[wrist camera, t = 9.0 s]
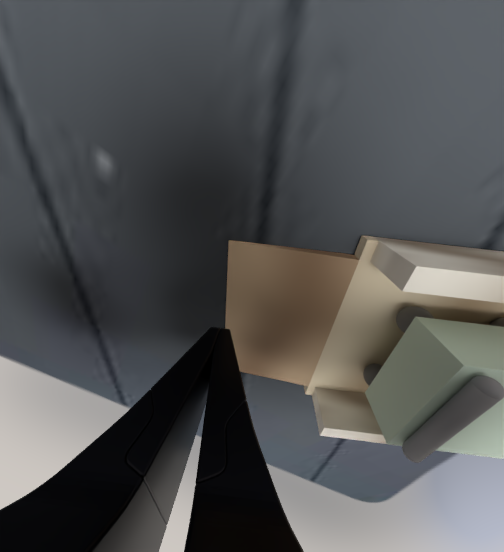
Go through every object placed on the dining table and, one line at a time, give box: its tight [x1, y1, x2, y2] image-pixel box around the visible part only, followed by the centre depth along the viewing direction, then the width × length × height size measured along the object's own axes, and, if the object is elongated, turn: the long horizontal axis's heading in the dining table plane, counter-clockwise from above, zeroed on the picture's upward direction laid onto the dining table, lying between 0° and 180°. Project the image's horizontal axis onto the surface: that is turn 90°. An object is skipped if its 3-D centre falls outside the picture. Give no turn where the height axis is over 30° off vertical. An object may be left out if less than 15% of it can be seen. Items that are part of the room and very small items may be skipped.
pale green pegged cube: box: [363, 306, 504, 463], centre depth 8 cm, size 5×5×4 cm
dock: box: [225, 235, 504, 444], centre depth 9 cm, size 13×10×3 cm
